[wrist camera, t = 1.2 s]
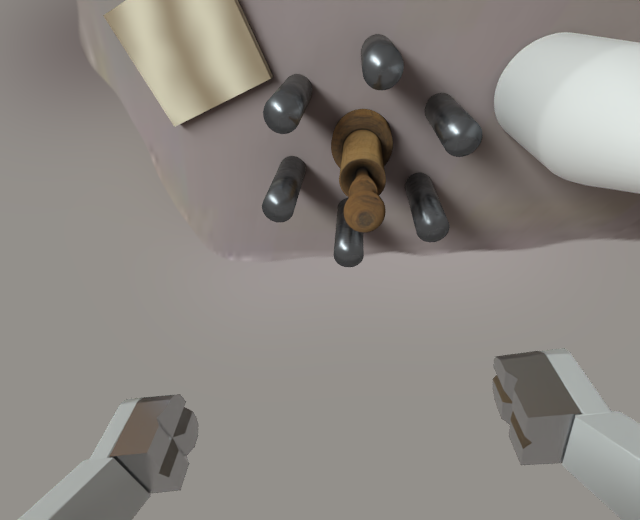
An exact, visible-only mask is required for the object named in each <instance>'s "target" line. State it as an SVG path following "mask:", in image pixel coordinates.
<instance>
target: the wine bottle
mask: <svg viewBox="0 0 640 520" xmlns="http://www.w3.org/2000/svg"><path fill="white" fill-rule="evenodd" d="M494 109H495V114H496V118H497V120H498V122H499V124H500V126H501V127H502V128H503V130H504V131H506V132H507V133H508V134H509V135H510V136H511V137H512V138H513V139H515V140H516V141H517V142H518V143H519V144H520V145H521V146H523V147H524V148H525V149H526V150H527V151H528V152H529V153H530V154H532V155H533V156H534V157H535V158H536V159H537V160H538V161H540V162H541V163H542V164H543V165H544V166H545V167H546V168H548V169H549V170H550V171H551V172H552V173H554V174H555V175H557V176H559V177H561V178H563V179H565V180H568V181H571V182H575V183H579V184H583V185H587V186H593V187H600V188H607V189H614V190H620V191H626V192H632V193H638V194H640V43H638V42H631V41H624V40H618V39H611V38H605V37H598V36H591V35H585V34H578V33H570V32H564V33H555V34H552V35H548V36H545V37H543V38H541V39H538V40H536V41H534V42H533V43H531V44H529V45H528V46H526V47H525V48H524V49H522V50H521V51H520V52H519V53H518V54H517V55H516V56H515V57H514V58H513V59H512V60H511V61H510V62H509V64H508V65H507V66H506V68H505V69H504V71H503V73H502V75H501V77H500V78H499V81H498V84H497V87H496V90H495V96H494Z"/></svg>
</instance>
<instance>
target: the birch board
mask: <svg viewBox="0 0 640 520" xmlns="http://www.w3.org/2000/svg"><path fill="white" fill-rule="evenodd" d="M103 16H104V17H105V19H106V20H107V22H108V24H109V25H110V27H111V28H112V30H113V31H114V33H115V35H116V36H117V38H118V39H119V41H120V42H121V44H122V45H123V47H124V49H125V50H126V52H127V53H128V55H129V56H130V58H131V60H132V61H133V63H134V64H135V66H136V67H137V69H138V70H139V72H140V74H141V75H142V77H143V78H144V80H145V81H146V83H147V85H148V86H149V88H150V89H151V91H152V92H153V94H154V95H155V97H156V99H157V100H158V102H159V103H160V105H161V106H162V108H163V110H164V111H165V113H166V114H167V116H168V117H169V119H170V120H171V122H172V124H173V125H174V127H175V126H177V125H179V124H181V123H183V122H185V121H187V120H189V119H191V118H193V117H195V116H197V115H199V114H201V113H203V112H205V111H207V110H209V109H211V108H213V107H215V106H217V105H219V104H221V103H223V102H225V101H227V100H229V99H231V98H233V97H235V96H237V95H239V94H241V93H243V92H245V91H247V90H249V89H251V88H253V87H255V86H257V85H259V84H261V83H263V82H265V81H267V80H269V79H271V78H272V77H273V75H272V73H271V71H270V69H269V67H268V64H267V62H266V60H265V58H264V56H263V54H262V51H261V49H260V47H259V45H258V43H257V41H256V39H255V36H254V34H253V32H252V30H251V28H250V26H249V23H248V21H247V19H246V17H245V15H244V13H243V10H242V8H241V6H240V4H239V2H238V0H126V1H125V2H123V3H121V4H120V5H118V6H117V7H115V8H114V9H112V10H111V11H109V12H108V13H106V14H105V15H103Z"/></svg>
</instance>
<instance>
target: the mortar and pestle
mask: <svg viewBox="0 0 640 520" xmlns="http://www.w3.org/2000/svg"><path fill="white" fill-rule="evenodd" d="M392 149H393V139H392V134H391V130H390V127H389V125H388V123H387V122H386V120H385V119H384V118H383V117H382V116H381V115H380V114H378V113H376V112H375V111H372V110H368V109H358V110H354V111H351V112H349V113H347V114H346V115H345V116H343V117H342V118H341V119H340V121H339V122H338V124H337V125H336V127H335V130H334V132H333V137H332V142H331V150H332V155H333V158H334V160H335V162H336V164H337V165H338V166H339V167H340V168H341V169H340V176H339V183H340V187H341V189H342V191H343V192H344V193H345V195H347V196H348V197H349V198H348V200H347V201H346V203H345V206H344V218H345V220H346V222H347V224H348V225H349V226H350V227H351V228H352V229H353V230H355V231H358V232H370V231H373V230H375V229H376V228H378V227H379V226H380V225H381V223H382V222H383V220H384V217H385V205H384V202H383V201H382V199H381V198H380V197H379V195H380V194H381V193H382V191H383V189H384V187H385V183H386V176H385V171H384V166H385V165H386V163H387V162H388V160H389V158H390V156H391V153H392Z"/></svg>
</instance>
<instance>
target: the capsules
mask: <svg viewBox="0 0 640 520" xmlns="http://www.w3.org/2000/svg"><path fill="white" fill-rule="evenodd" d="M361 61H362V71H363V77H364V79H365V81H366V83H367V84H368V85H369V86H370V87H372V88H373V89H376V90H386V89H389V88H391V87H393V86H394V85H395V84H396V83H397V82H398V81H399V79H400V78H401V75H402V73H403V59H402V56H401V54H400V53H399V51H398V50H397V49H396V48H395V46H394V45H393V44H392V43H391V42H390V40H389V39H388V38H387V37H385V36H384V35H380V34H375V35H372V36H370V37H369V38H367V39H366V41H365V42H364V44H363V46H362V49H361ZM311 95H312V86H311V83H310V81H309V80H308V79H307V78H306V77H305V76H303V75H300V74H294V75H291V76H289V77H288V78H287V79H286V80H285V82H284V83H283V84H282V85H281V86H280V87H279V88H278V90H277V91H276V92H275V93H274V94H273V95H272V97H271V98H270V99H269V100H268V101H267V102H266V104H265V107H264V111H263V115H264V119H265V122H266V124H267V125H268V127H269V128H270V129H271V130H273V131H274V132H276V133H280V134H287V133H290V132H292V131H293V130H294V129H296V127H297V126H298V124H299V122H300V120H301V118H302V115H303V113H304V111H305V109H306V107H307V105H308V102H309V100H310V98H311ZM425 116H426V118H427V120H428V121H429V123H430V125H431V126H432V128H433V130H434V131H435V133H436V135H437V136H438V138H439V140H440V141H441V143H442V145H443V146H444V148H445V150H446V151H447V152H448V153H449V154H451V155H453V156H456V157H462V156H466V155H469V154H470V153H472V152H473V151H474V150H476V148H477V147H478V146H479V144H480V142H481V140H482V129H481V127H480V125H479V124H478V123H477V122H476V121H475V120H474V119H473V118H472V117H471V116H470V115H469V114H468V113H467V112H466V111H465V110H464V109H463V108H462V107H461V106H460V105H459V104H458V103H457V102H456V101H455V100H454V99H453V98H452V97H451V96H450V95H448V94H446V93H438V94H435V95H434V96H432V97H431V98H430V99H429V100H428V101H427V103H426V106H425ZM305 170H306V169H305V164H304V163H303V161H302V160H301V159H299V158H298V157H295V156H289V157H286V158H285V159H283V160H282V162H281V164H280V166H279V168H278V170H277V173H276V175H275V177H274V179H273V181H272V184H271V186H270V188H269V190H268V192H267V194H266V197H265V199H264V201H263V204H262V209H263V212H264V214H265V216H266V217H267V218H269V219H270V220H272V221H274V222H285V221H287V220H289V219H290V218H291V217H292V215H293V212H294V209H295V205H296V202H297V198H298V195H299V192H300V188H301V185H302V181H303V178H304V175H305ZM405 190H406V193H407V197H408V201H409V205H410V209H411V212H412V216H413V220H414V224H415V228H416V232H417V235H418V236H419V238H420V239H422V240H423V241H426V242H436V241H439V240H441V239H442V238H444V237H445V236H446V235H447V233H448V231H449V222H448V220H447V218H446V215H445V213H444V210H443V208H442V206H441V203H440V201H439V198H438V196H437V194H436V191H435V189H434V186H433V184H432V182H431V179H430V177H429V176H428V175H426V174H424V173H415V174H413V175H411V176H410V177H409V178H408V179H407V181H406V183H405ZM347 200H348V198H347V199H344V200H342V201H341V202H340V203H339V205H338V211H337V223H336V234H335V246H334V259H335V260H336V262H337V263H338V264H340V265H341V266H344V267H354V266H356V265H358V264H359V263H360V262H361V261H362V259H363V256H364V255H363V232H358V231H355V230H353V229H352V228H351V227H350V226H349V225H348V224H347V222H346V220H345V218H344V206H345V203H346V201H347Z"/></svg>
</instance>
